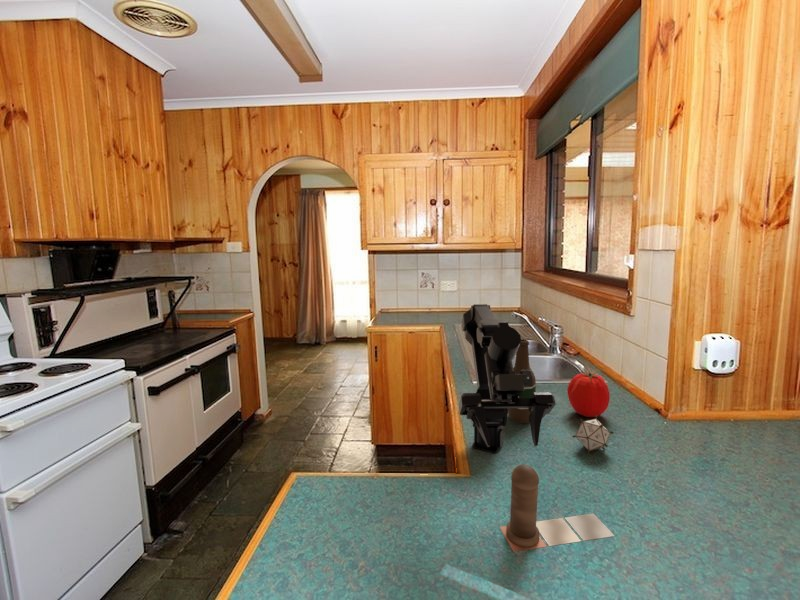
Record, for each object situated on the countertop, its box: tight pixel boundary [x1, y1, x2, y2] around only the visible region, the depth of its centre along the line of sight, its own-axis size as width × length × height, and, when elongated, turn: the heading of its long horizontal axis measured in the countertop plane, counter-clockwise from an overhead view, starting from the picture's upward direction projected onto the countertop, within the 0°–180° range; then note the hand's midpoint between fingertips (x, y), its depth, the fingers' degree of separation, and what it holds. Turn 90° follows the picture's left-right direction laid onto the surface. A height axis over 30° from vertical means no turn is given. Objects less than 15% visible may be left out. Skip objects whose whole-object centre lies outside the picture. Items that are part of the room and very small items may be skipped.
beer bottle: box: [507, 338, 537, 424], centre depth 118 cm, size 8×8×24 cm
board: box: [499, 513, 615, 553], centre depth 72 cm, size 21×10×1 cm, turn 99°
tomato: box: [566, 371, 611, 418], centre depth 120 cm, size 12×12×13 cm
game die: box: [571, 416, 615, 455], centre depth 101 cm, size 9×8×10 cm
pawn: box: [506, 464, 540, 548], centre depth 70 cm, size 6×6×13 cm
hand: (512, 446), depth 78 cm, fingers open, 9 cm apart
